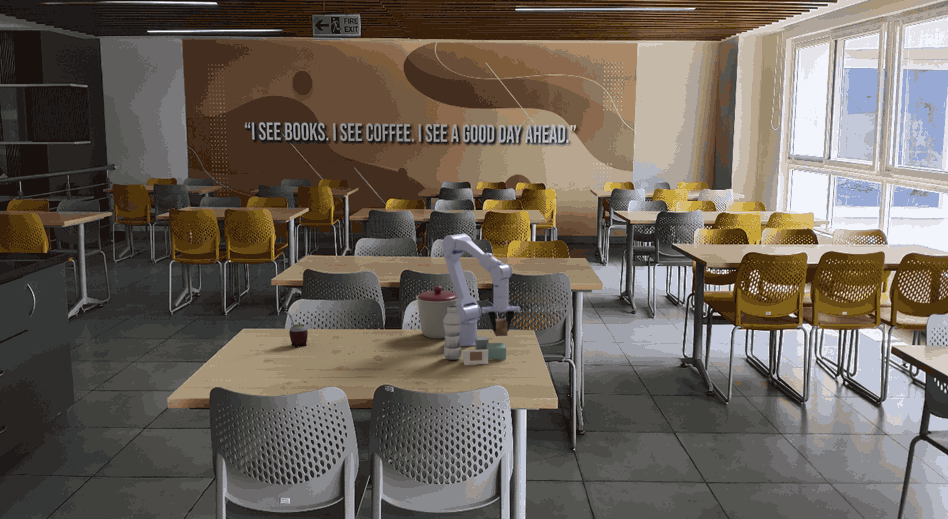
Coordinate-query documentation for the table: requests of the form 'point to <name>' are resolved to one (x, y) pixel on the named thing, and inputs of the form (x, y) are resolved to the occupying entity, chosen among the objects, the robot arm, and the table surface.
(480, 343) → the grey block
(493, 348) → the base block
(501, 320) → the walnut block
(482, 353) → the card
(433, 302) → the canister
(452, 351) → the plastic bottle
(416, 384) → the table surface
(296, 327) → the mate gourd
